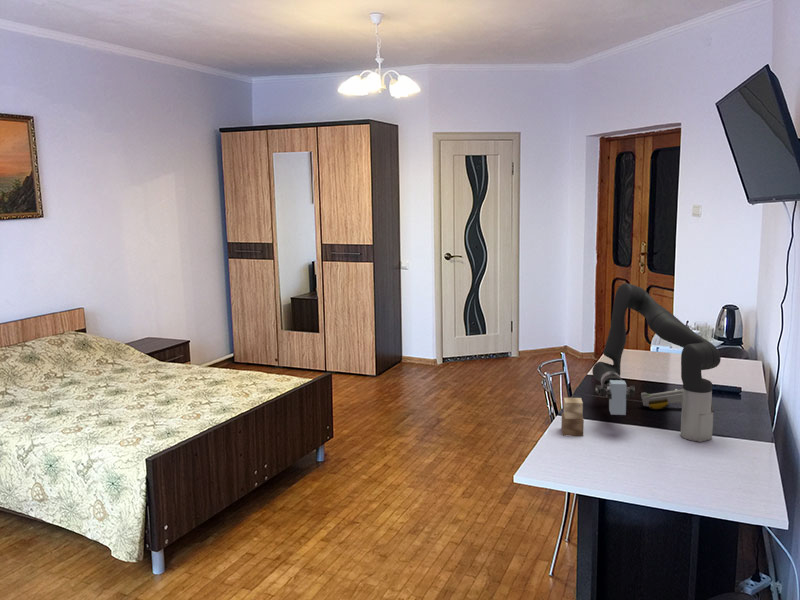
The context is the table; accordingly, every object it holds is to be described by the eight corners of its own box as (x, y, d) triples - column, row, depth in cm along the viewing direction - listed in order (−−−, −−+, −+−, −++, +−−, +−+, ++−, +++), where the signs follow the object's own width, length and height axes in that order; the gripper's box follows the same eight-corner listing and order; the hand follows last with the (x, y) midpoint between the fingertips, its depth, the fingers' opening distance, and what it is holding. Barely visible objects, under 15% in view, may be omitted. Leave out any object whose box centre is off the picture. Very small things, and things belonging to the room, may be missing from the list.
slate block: (623, 410, 234) (624, 380, 232) (625, 414, 229) (626, 384, 228) (609, 410, 235) (609, 380, 233) (610, 414, 230) (611, 383, 228)
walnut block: (581, 429, 239) (581, 413, 238) (583, 436, 232) (583, 420, 231) (561, 428, 240) (561, 412, 239) (562, 435, 233) (563, 419, 232)
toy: (715, 412, 253) (710, 385, 252) (647, 421, 258) (642, 395, 257) (710, 407, 259) (706, 381, 257) (644, 416, 264) (640, 391, 263)
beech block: (580, 414, 238) (580, 398, 237) (582, 419, 232) (582, 403, 231) (563, 413, 239) (563, 397, 238) (564, 419, 233) (565, 402, 232)
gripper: (592, 373, 246) (597, 385, 229) (632, 374, 243) (640, 386, 227) (592, 392, 247) (597, 406, 230) (632, 393, 244) (640, 407, 228)
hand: (618, 396), depth 229 cm, fingers closed on slate block, 5 cm apart
